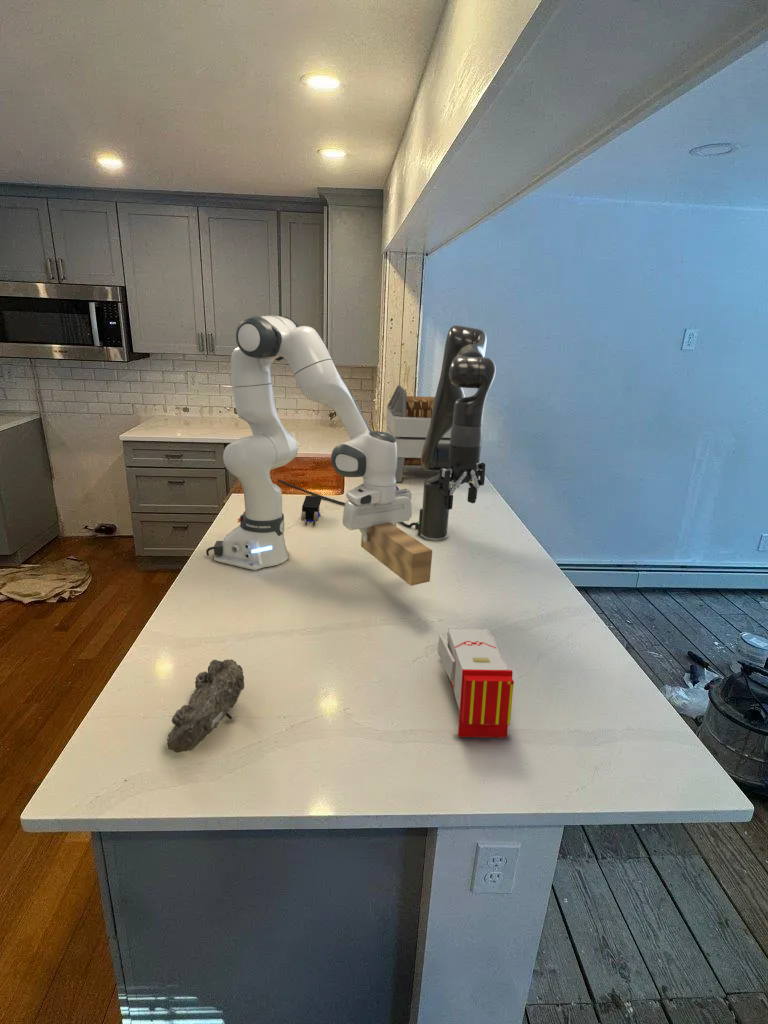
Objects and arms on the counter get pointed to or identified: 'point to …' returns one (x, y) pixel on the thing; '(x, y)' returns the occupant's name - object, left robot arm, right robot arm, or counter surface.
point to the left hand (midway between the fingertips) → (377, 539)
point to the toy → (478, 682)
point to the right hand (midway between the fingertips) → (459, 505)
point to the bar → (399, 553)
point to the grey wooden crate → (410, 427)
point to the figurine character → (311, 509)
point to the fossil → (206, 705)
